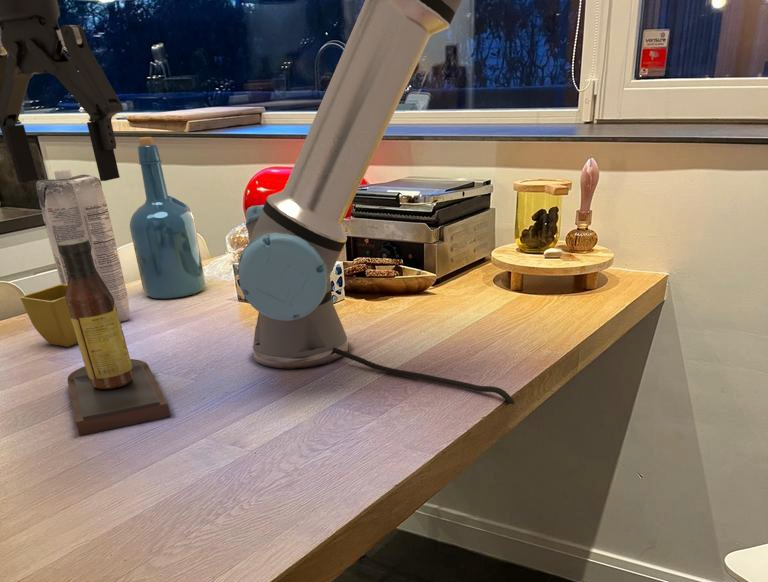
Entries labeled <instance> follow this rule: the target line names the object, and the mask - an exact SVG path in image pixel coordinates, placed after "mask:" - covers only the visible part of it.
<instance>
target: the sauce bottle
mask: <svg viewBox="0 0 768 582" xmlns="http://www.w3.org/2000/svg"><path fill="white" fill-rule="evenodd" d="M58 249H59V252H60V254H61V256H62V257H63V260H64V264H65V267H66V271H67V273H66V274H67V276H68V286H67V289H66V293H65V297H66V302H67V305H68V308H69V312H70V315H71V316H70V318H71V321H72V324H73V328H74V331H75V334H76V338H77V341H78V343H77V345H78V347H79V350H80V354H81V357H82V361H83V364H84V366H85V367H86V371H87V374H88V377H89V378H90V381H91V385H92V386H93V387H95V388H98V389H114V388H118V387H122V386H124V385H126V384H128V383H130V382H132V380H133V378H134V375H133V370H132V363H131V360H130V359H131V356H130V353H129V348H128V345H127V342H126V338H125V333H124V330H123V327H122V322H120V319H119V316H118V313H117V309H116V305H115V301H114V298H113V297H112V295H111V293H110V292H109V290H108V288H107V287H106V285H105V284H104V282H103V280H102V279H101V277H100V275H99V274H98V272H97V270H96V268H95V265H94V261H93V257H92V254H91V245H90V242H89V240H88V239H85V238H81V239H72V240H67V241H63V242H60V243H58Z"/></svg>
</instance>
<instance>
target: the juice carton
mask: <svg viewBox="0 0 768 582" xmlns="http://www.w3.org/2000/svg"><path fill="white" fill-rule="evenodd" d="M53 175H54V179H38V180H36V183H35V189H36V193H37V197H38V201H39V207H40V212H41V215H42V220H43V223H44V226H45V229H46V230H45V231H46V234H47V238H48V241H49V245H50V249H51V253H52V256H53V261H54V263H55V267H56V271H57V274H58V279H59V282H60V284H65V285H68V276H67V274H66V273H67V271H66V267H65V264H64V260H63V257H62V256H61V254H60V252H59V249H58V243H60V242H63V241H67V240H72V239H81V238H85V239H88V240H89V242H90V245H91V254H92V257H93V261H94V265H95V268H96V270H97V272H98V274H99V275H100V277H101V279H102V280H103V282H104V284H105V285H106V287H107V288H108V290H109V292H110V293H111V295H112V297H113V298H114V301H115V305H116V309H117V313H118V316H119V319H120V323H122V322H126V321H129V319H130V303H129V296H128V292H127V285H126V282H125V278H124V273H123V268H122V264H121V260H120V256H119V251H118V247H117V242H116V239H115V234H114V229H113V224H112V220H111V216H110V212H109V208H108V204H107V200H106V197H105V194H104V191H103V185H102V181H101V180H100V178H98V177H96V176H93V175H89V174H79V175H74V176H73V175H72V170H71V169H70V168H68V169H61V170H55V171H53Z"/></svg>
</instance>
